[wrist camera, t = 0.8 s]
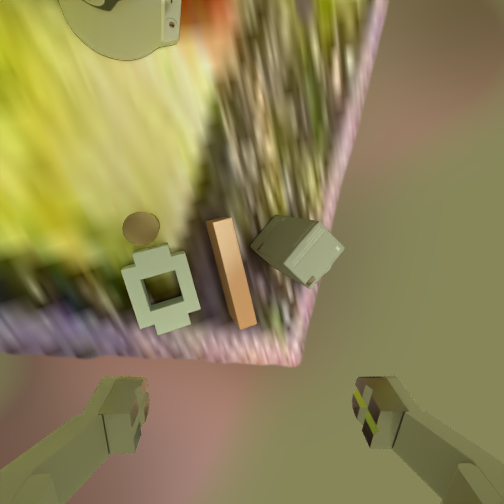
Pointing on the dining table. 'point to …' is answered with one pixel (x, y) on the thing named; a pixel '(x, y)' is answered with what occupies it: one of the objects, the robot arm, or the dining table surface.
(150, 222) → the dowel
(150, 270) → the block
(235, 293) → the wall
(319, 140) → the dining table surface
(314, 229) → the skincare box
